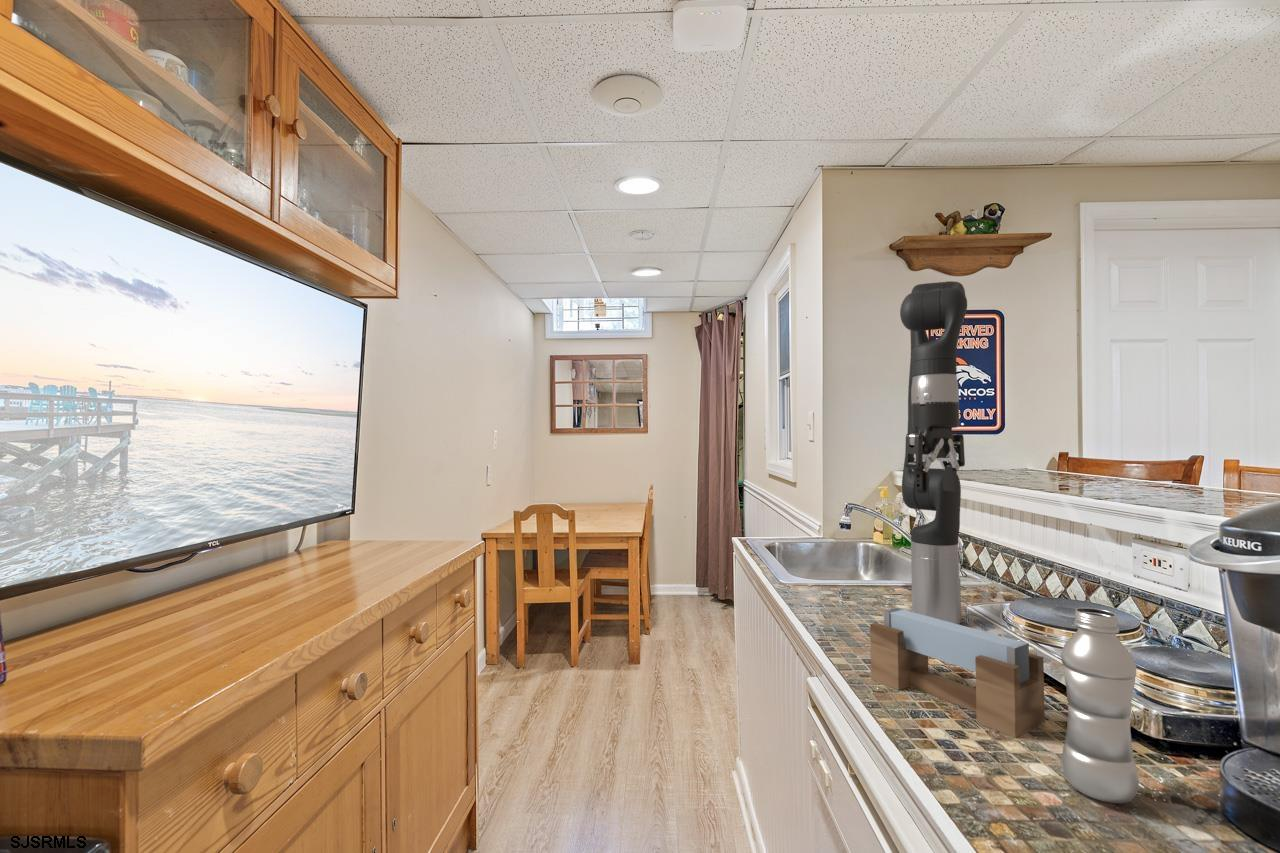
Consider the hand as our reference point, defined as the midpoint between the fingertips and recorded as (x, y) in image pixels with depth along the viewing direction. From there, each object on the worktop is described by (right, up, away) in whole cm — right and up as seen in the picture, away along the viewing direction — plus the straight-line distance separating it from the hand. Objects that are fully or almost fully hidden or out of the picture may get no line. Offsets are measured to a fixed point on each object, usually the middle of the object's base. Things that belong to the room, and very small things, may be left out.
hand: (936, 492), depth 101 cm
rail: (-5, -24, -15) cm, 28 cm away
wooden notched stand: (-6, -30, -15) cm, 34 cm away
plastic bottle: (-2, -29, -38) cm, 48 cm away
